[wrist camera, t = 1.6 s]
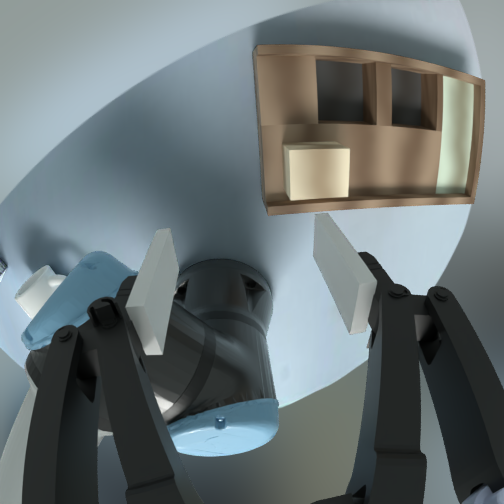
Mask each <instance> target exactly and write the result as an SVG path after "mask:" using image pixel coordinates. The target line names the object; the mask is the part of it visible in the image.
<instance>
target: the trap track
mask: <svg viewBox="0 0 504 504" xmlns="http://www.w3.org/2000/svg"><path fill="white" fill-rule="evenodd" d="M253 67H254V80H255V94H256V108H257V123H258V138H259V153H260V169H261V186H262V199H263V202H264V205H265V208H266V211H267V214H268V216H271V215H282V214H294V213H306V212H319V211H333V210H348V209H364V208H381V207H400V206H422V205H449V204H474V200H475V195H476V189H477V183H478V177H479V171H480V163H481V155H482V146H483V135H484V120H485V80H483V79H480V78H477V77H475V76H472V75H469V74H466V73H463V72H460V71H457V70H453V69H450V68H447V67H443V66H440V65H436V64H432V63H428V62H424V61H420V60H416V59H412V58H407V57H402V56H397V55H392V54H386V53H381V52H374V51H367V50H360V49H352V48H343V47H332V46H317V45H287V44H275V45H257V46H256V48H255V49H254V51H253ZM298 142H338V143H340V144H342V145H344V146H346V147H348V148H349V149H350V164H349V188H348V197H336V198H320V199H305V200H290V199H289V197H288V195H287V193H286V192H285V190H284V188H283V164H282V143H298Z"/></svg>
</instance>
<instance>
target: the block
mask: <svg viewBox="0 0 504 504" xmlns="http://www.w3.org/2000/svg"><path fill="white" fill-rule="evenodd" d="M282 164H283V188H284V190H285V192H286V193H287V195H288V197H289V199H290V200H305V199H320V198H336V197H348V188H349V164H350V149H349V148H348V147H346V146H344V145H342V144H340V143H338V142H298V143H282Z"/></svg>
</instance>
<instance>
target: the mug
mask: <svg viewBox="0 0 504 504" xmlns="http://www.w3.org/2000/svg"><path fill="white" fill-rule="evenodd" d="M66 277H67V276H64V275H56V274H55V273H54V271H53V270H52V269H51V267H50V266H49V265H45V266H43V267H42V268H40V269H39V270H38V271H36V272H35V273H34V274H33V275H32V276H31V277H30V278H29V279H28V280H27V281H26V282H25V283H24V284H23V285H22V286H21V287H20V289H19V290H18V292H17V293H16V295H15V300H16V301H17V302H18V304H19V305H20V306H21V307H22V308H23V310H24V311H25V312H26V313H27V314H28V316H29V317H30V318H31V319H32V320H33V318H34V317H35V315H36V314H37V313H38V312H39V310H40V309H41V308H42V306H43V305H44V304H45V302H46V301H47V300H48V299H49V297H50V296H51V295H52V294H53V292H54V291H55V290H56V289H57V288H58V286H59V285H60V284H61V283H62V282H63V280H64V279H65V278H66Z"/></svg>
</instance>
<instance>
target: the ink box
mask: <svg viewBox="0 0 504 504" xmlns="http://www.w3.org/2000/svg"><path fill="white" fill-rule="evenodd" d="M7 268H8V267H7V266H6V265H5V264H4V263H3V261H2V260H1V259H0V282H1V280H2V278H3V276H4V274H5V271H6V269H7Z"/></svg>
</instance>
